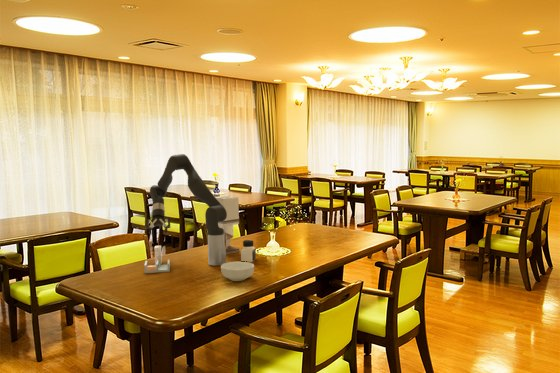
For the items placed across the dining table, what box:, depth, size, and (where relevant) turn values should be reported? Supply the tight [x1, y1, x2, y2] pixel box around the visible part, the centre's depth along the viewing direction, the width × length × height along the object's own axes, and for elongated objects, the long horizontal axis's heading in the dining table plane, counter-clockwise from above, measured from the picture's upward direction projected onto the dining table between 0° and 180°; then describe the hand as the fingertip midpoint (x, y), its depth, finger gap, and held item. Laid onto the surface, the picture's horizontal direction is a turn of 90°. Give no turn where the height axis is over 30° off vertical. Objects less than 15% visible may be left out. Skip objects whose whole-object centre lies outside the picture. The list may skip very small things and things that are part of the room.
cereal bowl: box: [220, 261, 255, 282], centre depth 230 cm, size 17×17×7 cm
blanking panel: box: [153, 244, 163, 265], centre depth 261 cm, size 6×4×10 cm, turn 13°
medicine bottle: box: [240, 239, 257, 263], centre depth 266 cm, size 7×7×12 cm
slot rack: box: [143, 258, 171, 274], centre depth 248 cm, size 11×13×4 cm
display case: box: [214, 195, 240, 255], centre depth 288 cm, size 11×11×35 cm
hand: (158, 233), depth 272 cm, fingers open, 8 cm apart
